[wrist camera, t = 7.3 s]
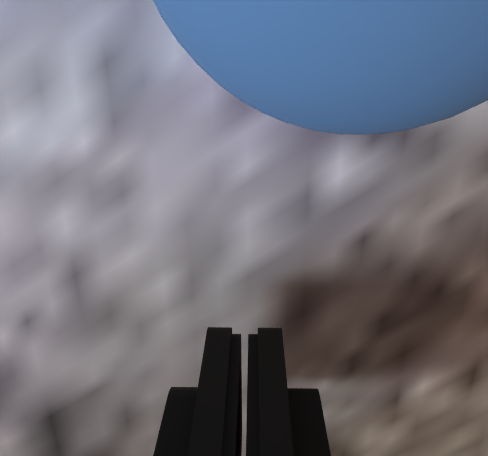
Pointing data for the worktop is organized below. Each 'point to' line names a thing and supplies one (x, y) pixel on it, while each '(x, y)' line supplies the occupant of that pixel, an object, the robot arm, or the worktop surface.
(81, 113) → the worktop surface
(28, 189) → the worktop surface
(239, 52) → the ball
